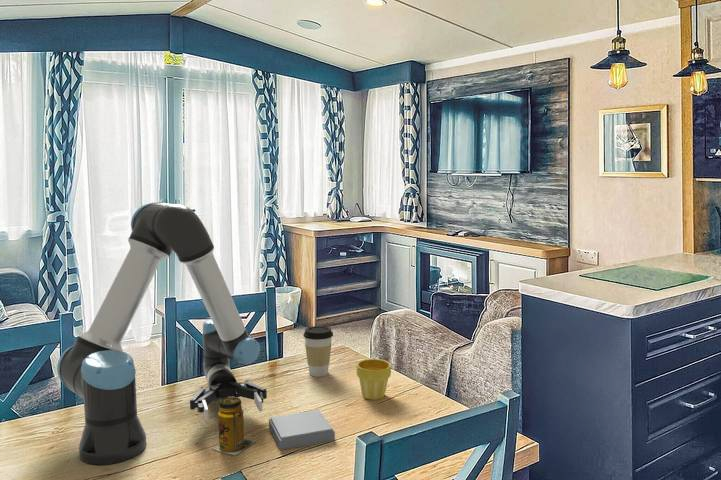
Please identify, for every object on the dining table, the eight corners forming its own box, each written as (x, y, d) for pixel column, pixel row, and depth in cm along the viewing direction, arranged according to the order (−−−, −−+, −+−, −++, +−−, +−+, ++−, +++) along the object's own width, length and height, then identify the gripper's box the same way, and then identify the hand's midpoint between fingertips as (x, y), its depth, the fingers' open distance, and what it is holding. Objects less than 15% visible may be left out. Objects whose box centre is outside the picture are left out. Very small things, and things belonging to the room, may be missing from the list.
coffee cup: (335, 368, 199) (335, 325, 197) (331, 379, 189) (330, 334, 187) (306, 367, 200) (306, 325, 198) (301, 378, 190) (300, 333, 188)
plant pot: (397, 393, 177) (397, 362, 176) (379, 405, 168) (379, 372, 167) (368, 386, 183) (368, 356, 181) (349, 397, 174) (349, 365, 173)
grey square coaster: (280, 450, 142) (280, 438, 142) (269, 427, 154) (268, 416, 154) (334, 440, 147) (334, 429, 147) (319, 419, 159) (319, 408, 159)
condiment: (211, 449, 143) (209, 402, 141) (234, 435, 150) (232, 390, 149) (235, 456, 139) (233, 408, 138) (257, 441, 147) (255, 396, 145)
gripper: (264, 387, 173) (282, 416, 154) (177, 400, 164) (183, 432, 145) (264, 363, 172) (281, 389, 153) (176, 375, 163) (182, 403, 144)
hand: (234, 410), depth 149 cm, fingers open, 13 cm apart
